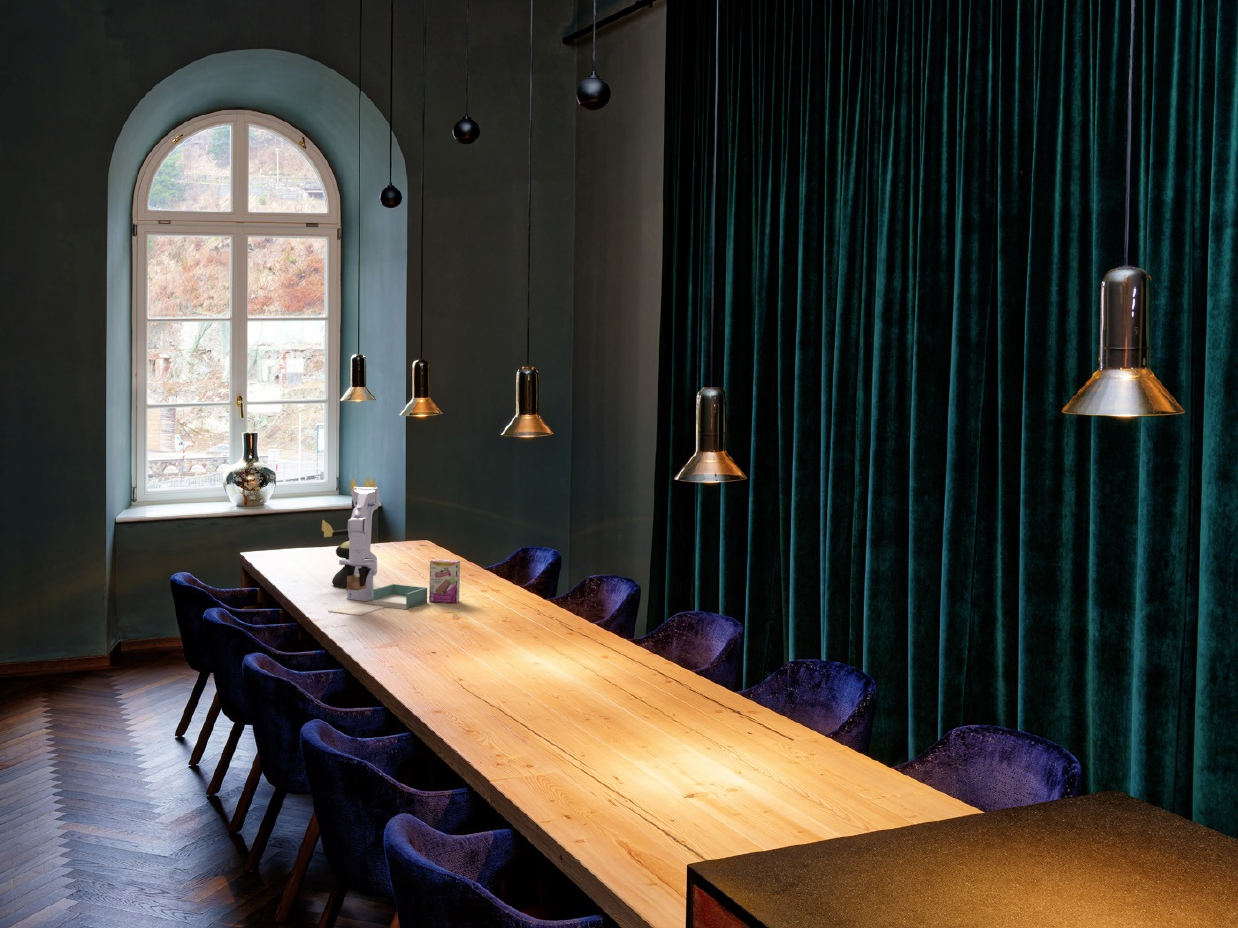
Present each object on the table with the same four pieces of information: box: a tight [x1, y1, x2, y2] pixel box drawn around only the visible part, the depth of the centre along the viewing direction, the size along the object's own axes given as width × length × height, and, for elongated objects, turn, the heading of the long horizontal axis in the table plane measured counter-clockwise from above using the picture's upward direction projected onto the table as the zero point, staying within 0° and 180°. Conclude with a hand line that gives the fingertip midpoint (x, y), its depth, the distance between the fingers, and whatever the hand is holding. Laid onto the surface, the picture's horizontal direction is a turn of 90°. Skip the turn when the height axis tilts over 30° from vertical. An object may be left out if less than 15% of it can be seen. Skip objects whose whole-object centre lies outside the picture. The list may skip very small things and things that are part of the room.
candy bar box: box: [428, 558, 461, 604], centre depth 467 cm, size 11×5×16 cm, turn 84°
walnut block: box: [346, 574, 366, 591], centre depth 448 cm, size 4×6×5 cm
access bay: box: [372, 583, 428, 610], centre depth 461 cm, size 16×14×6 cm
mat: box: [328, 602, 385, 617], centre depth 449 cm, size 14×16×1 cm
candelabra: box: [321, 475, 378, 589], centre depth 496 cm, size 19×22×45 cm
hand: (356, 585), depth 448 cm, fingers closed on walnut block, 4 cm apart
